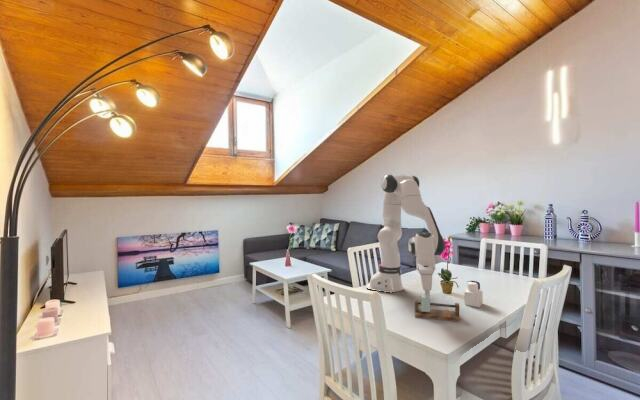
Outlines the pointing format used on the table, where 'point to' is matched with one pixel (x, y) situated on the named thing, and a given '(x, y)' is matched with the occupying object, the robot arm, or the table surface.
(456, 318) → the rail
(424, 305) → the marker sleeve
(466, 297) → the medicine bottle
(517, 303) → the table surface
